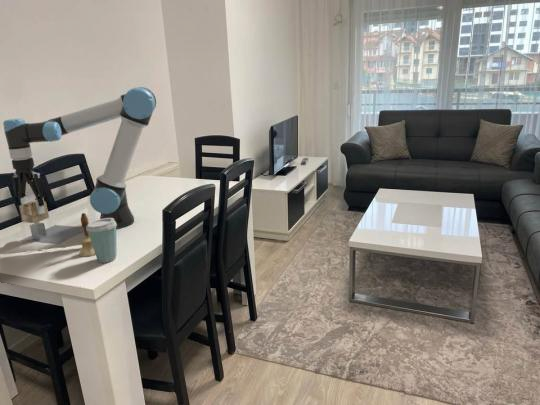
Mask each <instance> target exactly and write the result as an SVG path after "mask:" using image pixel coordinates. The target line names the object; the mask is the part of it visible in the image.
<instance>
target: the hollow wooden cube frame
mask: <svg viewBox="0 0 540 405" xmlns="http://www.w3.org/2000/svg"><path fill="white" fill-rule="evenodd" d="M43 202H44V205H43V206H44V211H45V213H43V214H40V215H38V211H37V206H36V202H35V200H32V201H28V203H26V204H23V205H21V204H20V205H18V208H19V214H20V217H21V223H26V224H27V223H30V224H34V223H37V222H40V223H41V222H42V221H44V220H46V219H49V218H50V215H49V212H48V207H47V206H48V205H47V201H43Z"/></svg>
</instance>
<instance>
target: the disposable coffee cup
mask: <svg viewBox="0 0 540 405" xmlns="http://www.w3.org/2000/svg"><path fill="white" fill-rule="evenodd" d="M116 226H117V224H116V222H115V221H114V219H113V218H104V219H100V218H99V219H96V220H93V221H91V222H89V224H88V225H87V226H86V230H87V232H88V235H89V237H90V240H91V243H92V246H93V249H94V251H95V254H96V255H95V257H96V259H97V261H98V262H99V263H110V262H112V261H115V259H116V258H117V229H116Z"/></svg>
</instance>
